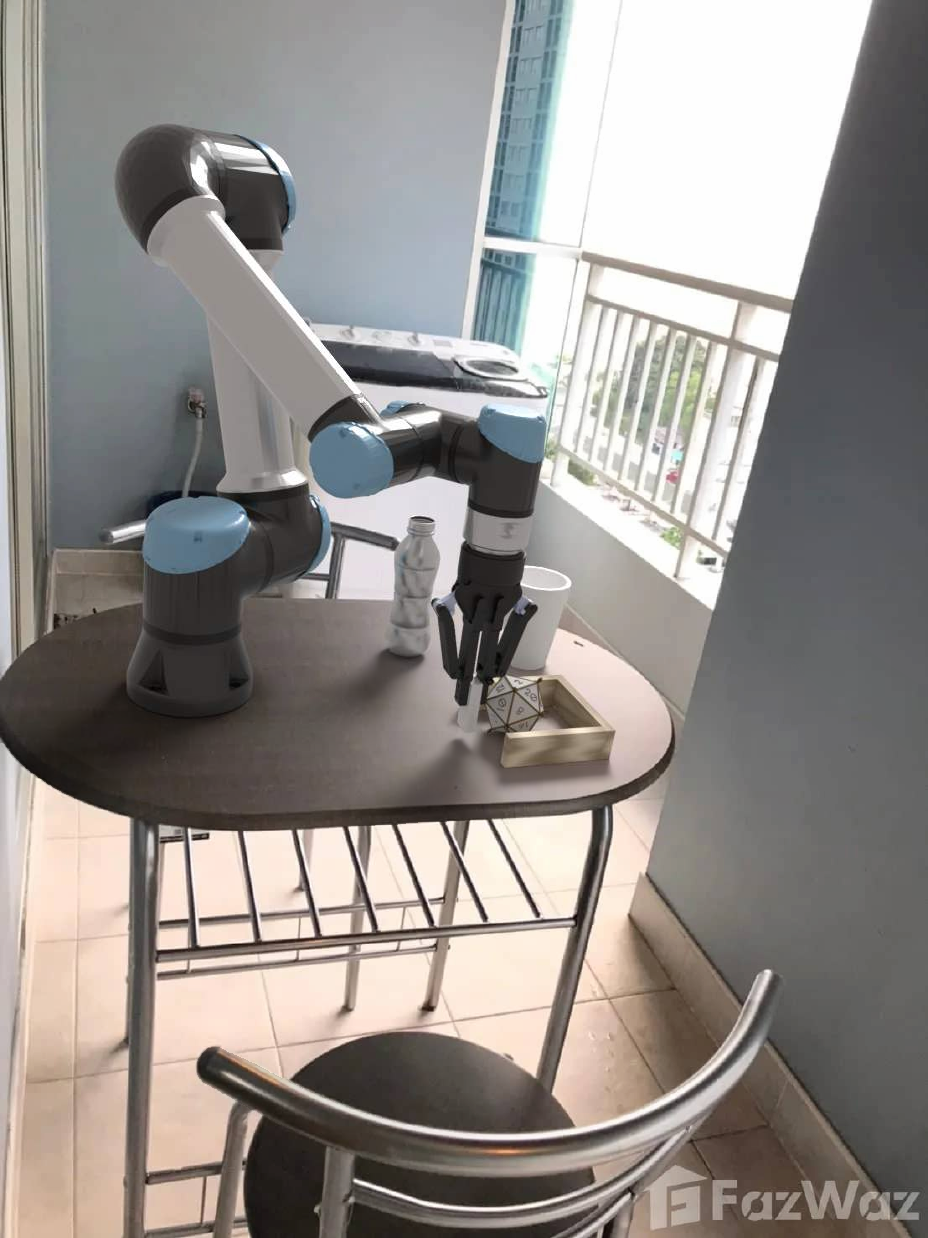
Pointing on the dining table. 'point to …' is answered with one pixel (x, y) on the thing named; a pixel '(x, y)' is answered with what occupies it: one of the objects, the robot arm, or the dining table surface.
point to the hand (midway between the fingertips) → (466, 726)
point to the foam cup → (540, 615)
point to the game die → (514, 705)
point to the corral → (560, 730)
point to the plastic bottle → (413, 589)
